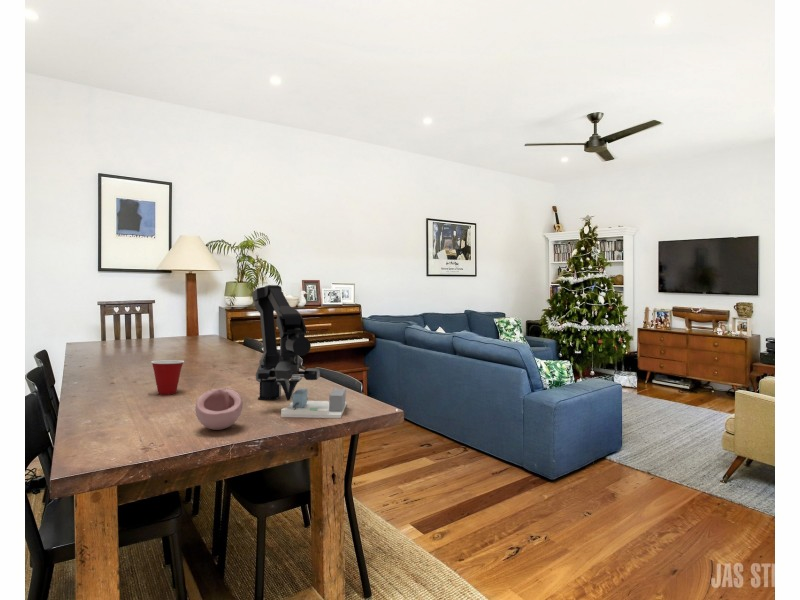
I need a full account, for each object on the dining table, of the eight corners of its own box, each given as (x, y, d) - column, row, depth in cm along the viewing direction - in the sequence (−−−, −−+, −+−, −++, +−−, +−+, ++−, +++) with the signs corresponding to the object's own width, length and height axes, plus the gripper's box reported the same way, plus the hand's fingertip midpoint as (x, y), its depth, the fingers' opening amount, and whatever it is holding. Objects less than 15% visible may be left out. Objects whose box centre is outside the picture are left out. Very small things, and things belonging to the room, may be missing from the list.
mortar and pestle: (194, 438, 117) (195, 394, 117) (195, 424, 128) (195, 384, 128) (243, 432, 122) (244, 390, 122) (240, 420, 133) (240, 381, 133)
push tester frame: (281, 417, 137) (281, 397, 137) (293, 403, 153) (293, 385, 153) (340, 418, 137) (340, 398, 137) (346, 404, 153) (346, 386, 153)
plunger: (289, 412, 137) (289, 397, 137) (298, 402, 149) (298, 388, 149) (299, 413, 137) (299, 397, 137) (307, 402, 149) (307, 388, 149)
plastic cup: (189, 390, 169) (190, 358, 169) (174, 397, 159) (174, 363, 158) (161, 389, 170) (161, 357, 169) (143, 396, 159) (144, 362, 159)
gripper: (251, 355, 137) (251, 406, 137) (313, 356, 137) (312, 407, 137) (263, 349, 148) (262, 397, 148) (320, 351, 148) (319, 398, 148)
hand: (288, 400), depth 145 cm, fingers closed
